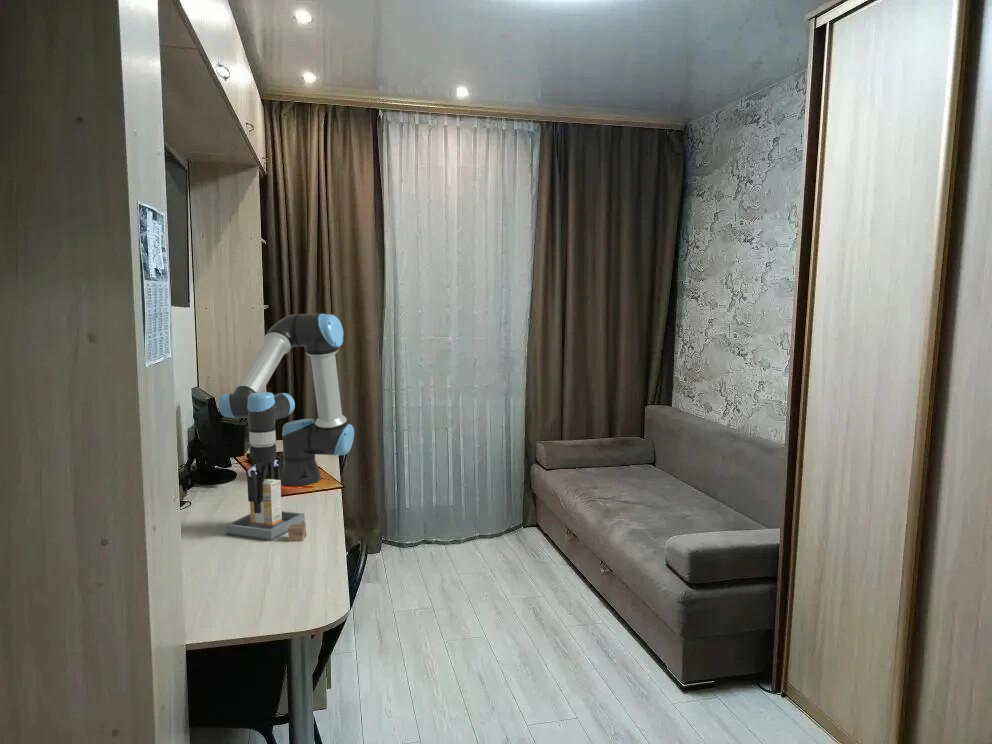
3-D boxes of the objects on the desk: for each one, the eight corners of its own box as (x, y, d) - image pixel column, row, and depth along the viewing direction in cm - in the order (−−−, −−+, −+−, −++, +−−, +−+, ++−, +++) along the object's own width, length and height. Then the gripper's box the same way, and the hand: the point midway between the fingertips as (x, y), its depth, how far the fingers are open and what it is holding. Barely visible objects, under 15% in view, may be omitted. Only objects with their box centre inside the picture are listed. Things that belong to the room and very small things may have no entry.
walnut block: (292, 536, 193) (292, 523, 193) (306, 536, 193) (305, 523, 193) (288, 541, 189) (288, 528, 189) (302, 541, 189) (302, 528, 189)
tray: (261, 517, 209) (261, 508, 209) (304, 523, 204) (304, 513, 204) (226, 534, 194) (225, 524, 194) (271, 541, 189) (271, 531, 189)
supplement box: (249, 523, 198) (247, 480, 197) (260, 518, 203) (258, 476, 201) (272, 526, 196) (270, 483, 194) (282, 521, 200) (281, 479, 199)
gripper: (271, 437, 206) (274, 509, 209) (231, 450, 189) (235, 528, 192) (291, 439, 204) (294, 511, 206) (253, 452, 187) (256, 531, 190)
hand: (266, 519), depth 199 cm, fingers closed on supplement box, 5 cm apart
